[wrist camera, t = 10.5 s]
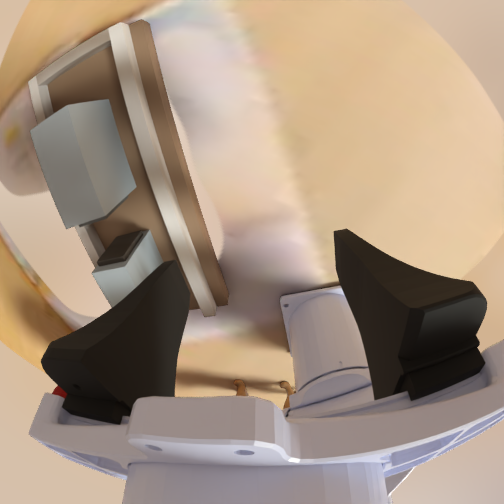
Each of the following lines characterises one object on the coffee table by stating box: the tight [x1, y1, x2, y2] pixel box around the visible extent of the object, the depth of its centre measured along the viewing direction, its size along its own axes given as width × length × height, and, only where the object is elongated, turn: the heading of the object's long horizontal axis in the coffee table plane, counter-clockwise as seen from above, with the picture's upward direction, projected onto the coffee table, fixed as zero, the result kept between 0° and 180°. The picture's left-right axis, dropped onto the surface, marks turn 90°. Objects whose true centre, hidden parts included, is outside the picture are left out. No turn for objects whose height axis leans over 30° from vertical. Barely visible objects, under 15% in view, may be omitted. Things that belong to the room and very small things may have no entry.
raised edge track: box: [28, 19, 229, 317], centre depth 17 cm, size 24×11×6 cm, turn 12°
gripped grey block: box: [30, 99, 137, 229], centre depth 15 cm, size 4×7×5 cm, turn 13°
